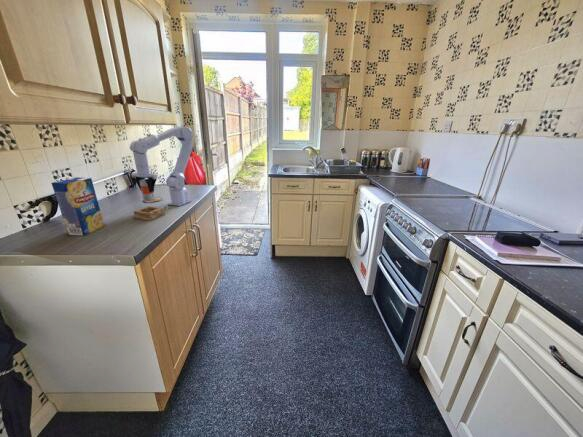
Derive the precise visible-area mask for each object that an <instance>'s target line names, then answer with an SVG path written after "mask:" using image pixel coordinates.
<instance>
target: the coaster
mask: <svg viewBox="0 0 583 437" xmlns="http://www.w3.org/2000/svg"><path fill="white" fill-rule="evenodd" d="M161 200H162V199H161V197H154V200H152V201H144V200H143V202H144V203H148V204H149V203H157V202H160V201H161Z"/></svg>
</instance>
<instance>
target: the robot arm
mask: <svg viewBox="0 0 583 437" xmlns="http://www.w3.org/2000/svg"><path fill="white" fill-rule="evenodd" d="M194 135H195V134H194V132H193V131H192V129H191V127H189V126H174V127H171V128H169V129H167V130H165V131H163V132H160V133H159V134H157V135H156V134H151V133H148V134H147V135H146V136H145V137H140V138H138V140H133V141H131V143H130V144H129V149H130V151H132V154H133V160H134V163H135V170H136V172H132V173H131V174H130V175H131V178H132V180H133V182H135V183H136V185H137V187H138V188H139V190H140V191H141V186H140V181H139V180H140V179H145V181H146V183H147V185H148V188H149V191H150V192H153V193H154V192H155V185H156V182H157V180H158V175H157V174H154V173H151V171H150V166H149V165H150V164H149V159H148V154H147V152H148V150H151V149H153V148H155V147H157V146H159V145H160V143H161V142H162V141H165V140H167V139H170V138H173V137H175V138H176V139H177V140H178V141H179V142H180V144H181V148H180V151H179V154H178V157H177V160H176V162H175V166H174V168H173V170H172V172H170V173H169V175H168V177H167V178H166V180H165V184H166V185H167V186H168V191H169V195H170V201H171V202H169V203H168V205H170V206H178V207H180V206H183V205H185V204H187V203H189V202H191V200H190V199H189V193H188V190H187V188H186V187H185V185H186V184H185V180H186V177H185V175H184V174H185V171H186V168H187V166H188V162H189V160H190V156H191V154H192V151H193V148H194Z"/></svg>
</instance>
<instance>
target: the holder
mask: <svg viewBox="0 0 583 437" xmlns="http://www.w3.org/2000/svg"><path fill="white" fill-rule="evenodd" d="M133 215H134V219H137V220H144V221H152V220H154V219H157V218H159V217H162V216H164V215H165V212H164V208H163V207H157V206H148V205H147V206H145V207H143V208H139V209H136V210H134V211H133Z"/></svg>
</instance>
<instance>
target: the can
mask: <svg viewBox="0 0 583 437" xmlns="http://www.w3.org/2000/svg"><path fill="white" fill-rule="evenodd" d="M145 179H146V178H145ZM145 179H140V180H139V181H140V186H141V190H140V192H141V194H142V199H143V200H142V201H143V202H144V201H152V200H154V198H155V194H154V192H150V191H149V188H148V185H147V183H146V181H145Z"/></svg>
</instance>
